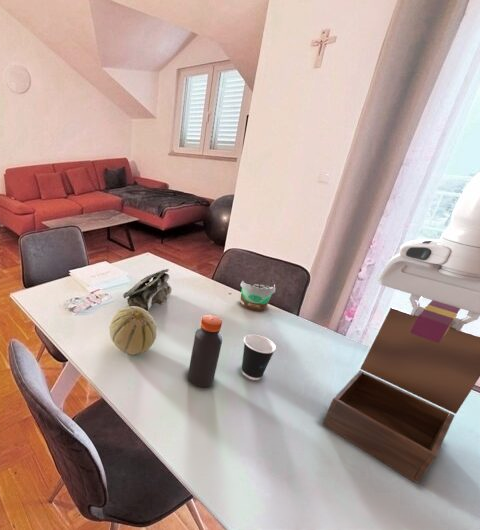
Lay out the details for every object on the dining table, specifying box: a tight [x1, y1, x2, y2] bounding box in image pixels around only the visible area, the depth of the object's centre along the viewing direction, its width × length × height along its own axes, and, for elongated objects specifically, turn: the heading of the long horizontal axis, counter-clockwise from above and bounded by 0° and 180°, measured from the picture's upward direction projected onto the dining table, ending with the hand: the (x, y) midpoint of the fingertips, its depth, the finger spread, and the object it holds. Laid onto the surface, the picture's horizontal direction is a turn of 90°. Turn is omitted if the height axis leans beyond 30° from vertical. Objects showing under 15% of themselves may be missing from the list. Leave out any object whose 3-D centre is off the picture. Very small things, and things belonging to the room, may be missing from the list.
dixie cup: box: [241, 334, 277, 381], centre depth 88 cm, size 8×8×11 cm
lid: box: [359, 307, 480, 415], centre depth 72 cm, size 17×17×5 cm
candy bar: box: [410, 300, 462, 343], centre depth 62 cm, size 4×11×4 cm, turn 124°
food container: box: [239, 280, 276, 312], centre depth 121 cm, size 12×6×10 cm, turn 73°
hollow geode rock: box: [122, 268, 173, 312], centre depth 124 cm, size 28×13×15 cm
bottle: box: [187, 314, 223, 388], centre depth 84 cm, size 7×7×20 cm
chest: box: [321, 369, 456, 485], centre depth 71 cm, size 17×17×8 cm
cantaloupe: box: [109, 306, 157, 356], centre depth 98 cm, size 15×15×15 cm
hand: (434, 321), depth 62 cm, fingers closed on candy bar, 4 cm apart
